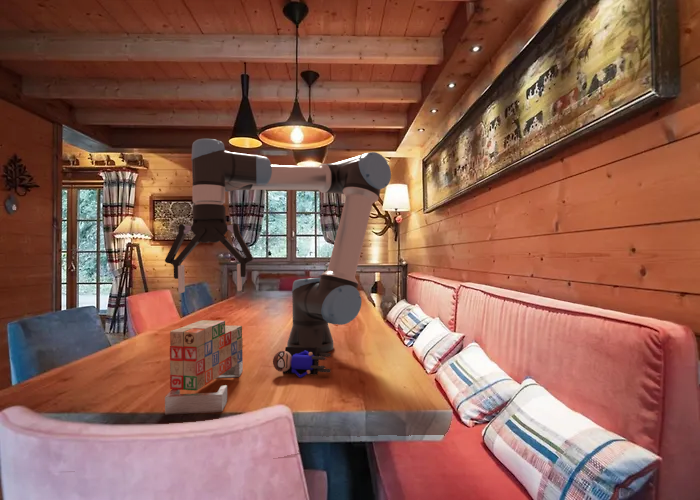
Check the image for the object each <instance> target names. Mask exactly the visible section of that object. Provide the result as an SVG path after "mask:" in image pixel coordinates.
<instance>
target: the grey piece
mask: <svg viewBox="0 0 700 500" xmlns="http://www.w3.org/2000/svg"><path fill="white" fill-rule="evenodd" d="M243 362H244V361H243V357H242V361H241V362H240V363H238V364H237V365H235V366H233V367H232V368H230V369H229V370H227V371H226V372H224V373H223V374H221V375H220V376H219V377H217V378H216V379H223V378H239V377H241V375H242V373H243V366H244V365H243Z"/></svg>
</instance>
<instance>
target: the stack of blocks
mask: <svg viewBox="0 0 700 500" xmlns="http://www.w3.org/2000/svg"><path fill="white" fill-rule="evenodd" d="M169 342H170V343H169V345H170V346H169V360H170V361H169V365H170V367H169V369H170V370H169V371H170V373H169V388H170V389H171V390H172V389H178V390H180V391H195V392H197V391H200V389H202V388H203V387H204V386H207V385H208V384H210V383H211V382H212V381H215V380H217V379H218V378H217V377H219V376H220V375H221V374H223V373H224V372H226V371H227V370H229V369H230V368H232V367H233V366H235V365H237V364H238V363H240V362H241V361H242V358H243V346H244V345H243V326H242V325H227V324H226V320H207V319H205V320H201V319H200V320H198V321H196V322H193V323H189V324H187V325H184V326H181V327H179V328H176V329H173V330H172V329H171V330H170V332H169Z"/></svg>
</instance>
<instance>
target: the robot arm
mask: <svg viewBox="0 0 700 500" xmlns="http://www.w3.org/2000/svg"><path fill="white" fill-rule="evenodd" d="M190 161H191V177H192V191H191V192H192V203H193V204H194V205H193V206H192V224H191V225H188V224H187V225H186V224H182V223H180V224H179V225H178V233H177V235H176V237H175V239H174V241H173V243H172V245H171V247H170V249H169V250H168V253H167V254H166V257H165V259H164V262H165V263H167V264H170V265H171V266H173V278H174V279H177V283H178V287H177V288H178V289H177V290H178V294H182V293H185V292H186V289H185V288H186V286H185V285H186V282H185V281H186V279H185V275H186V274H185V264H182V263H183V262H184V261H185V260H186V258H187V257H188V256H189V255H190V254H191V253H192V251H193V250H194V249H195V248H196V246H198V245H199V244H200V242H201V243H203V244H204V243H206V244H207V243H213V244H214V243H216V244H217V243H219V242H220V243H221V244H222V245H223V246H224V247H225V249H227V250H228V251H229V253H231V255H233V256H234V258H235V259H236V260H237V261H238V262H239V263H237V264H236V279H237V282H236V284H237V286H236V289H237V292H241V291H242V290H243V279H242V278H245V277H246V275H247V263H249V262H252V261H253V260H254V257H253V255H252V252H251V251H250V249H249V247H248V245H247V243H246V241H245V240H244V238H243V236H242V234H241V229H240V225H239V224H237V223H234V224H229V225H228V224H227V219H226V218H227V217H226V215H227V214H226V206H225V205H224V204H226V192H234V191H248V190H251V191H253V190H254V191H256V190H257V191H258V190H259V191H261V190H262V191H263V190H264V191H268V190H269V191H271V190H273V191H277V190H278V191H285V190H286V191H287V190H288V191H292V190H293V191H295V190H296V191H302V190H303V191H305V190H306V191H308V190H309V191H310V190H311V191H312V190H313V191H319V192H320V193H322V194H338V195H340V194H341V195H344V197H345V200H344V203H343V207H342V208H343V209H342V212H341V215H340V219H339V223H338V229H337V231H336V236H335V239H334V244H333V248H332V251H331V256H330V260H329V264H328V266H327V267H328V268H327V269H326V271H324V272H322V273H321V275H320V277H313V278H312V277H310V278H300V279H295V280H294V281H293V283H292V289H291V294H292V301H291V302H292V327H291V329H290V333H289V336H288V339H287V341H286V342H287V344H286V347H300V348H315V347H318V348H320V351H319V353H330V352H331V351H333V350H334V339H333V336H332V333H331V329H330V327H329V324H331V325H340V326H342V325H347V324H350V323H351V322H352V321H353V320H355V319H356V318H357V316H358V314H359V313H360V310H361V307H362V296H361V293H360V291H359V290H358V287H359V282H358V279H356V274H357V269H358V265H359V261H360V258H361V257H360V256H361V254H362V249H363V244H364V240H365V237H366V232H367V228H368V223H369V219H370V215H371V211H372V207H373V204H374V203H375V202H377V201H379V198H380V193H381V190H383V189H385V188H386V187H388V185H389V184H390V182H391V178H392V171H391V167H390V165H389V163H388V161H387V159H386V158H385V157H384V156H383V155H382V154H380V153H379V152H376V151H370V152H363V153H362V154H360V155H357V156H354V157H350V158H348V159H344V160H341V161H337V162H333V163H321V164H319V165H318V166H313V165H312V166H311V165H310V166H306V165H288V164H287V165H285V164H284V165H282V164H281V165H279V164H272V162H271V161H270V159H269V158H268V157H267V156H262V155H258V154H247V153H240V152H231V151H228V150H226V148H225V144H224V142H222V141H221V140H217V139H214V138H199V139H196V140H194V141H193V143H192V146H191V158H190ZM228 230H229V231H230V233H232V234H234V235H233V236H234V237H235V239H236V241H237V242H238V244H239V246H240V248H241V250H242V252H243V254H244V256H245V257H244V256H243V255H242V254H241V253H240V252H239V251H238V250H237V249H236V247H235V246H234V245H233V244H232V242H230V241H229V240H228V238H227V237H226V236H225V235H226V233H227V232H228ZM190 231H191V232H192V233H193V234H194V236H193V237H192V238H191V240H190V242H189V243H188V244H187V245H186V246H185V247H184V248H183V250H182V251H181V252H180V254H178V252H179V251H180V248H181V246H182V244H183V242H184V240H185V239H186V235H188V234H189V233H190ZM177 254H178V256H177Z"/></svg>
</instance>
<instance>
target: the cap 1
mask: <svg viewBox="0 0 700 500" xmlns="http://www.w3.org/2000/svg"><path fill="white" fill-rule="evenodd" d="M227 403H228V385H226V384H225V385H220V387H219V389H218V390H217V392H198V393H197V392H196V393H181V390H178V389H171V390H170V391H169V392H168V393H167V394H166V395H165V396H164V415H165V416H166V415H186V414H205V413H222V412H223V411H224V409H225V407H226V405H227Z"/></svg>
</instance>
